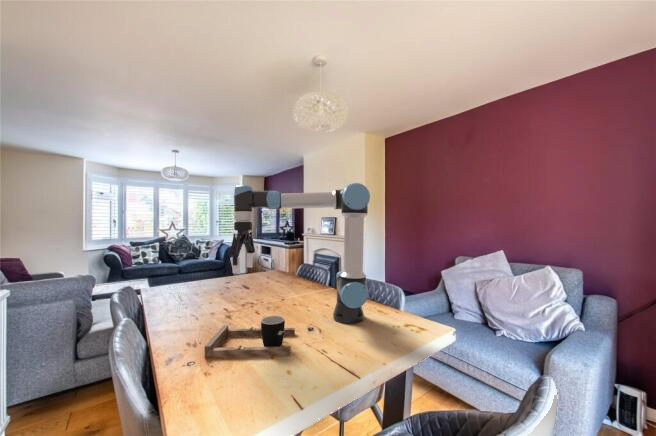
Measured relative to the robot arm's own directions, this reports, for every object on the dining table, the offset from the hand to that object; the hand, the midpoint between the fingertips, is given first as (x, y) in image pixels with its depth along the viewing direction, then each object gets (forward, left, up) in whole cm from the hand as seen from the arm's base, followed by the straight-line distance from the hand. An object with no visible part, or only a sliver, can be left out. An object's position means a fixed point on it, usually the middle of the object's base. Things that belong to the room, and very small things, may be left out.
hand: (243, 270), depth 117 cm
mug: (-16, +13, -27) cm, 34 cm away
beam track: (-8, +13, -27) cm, 31 cm away
